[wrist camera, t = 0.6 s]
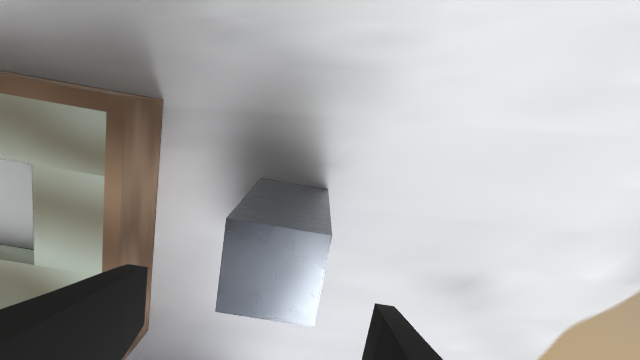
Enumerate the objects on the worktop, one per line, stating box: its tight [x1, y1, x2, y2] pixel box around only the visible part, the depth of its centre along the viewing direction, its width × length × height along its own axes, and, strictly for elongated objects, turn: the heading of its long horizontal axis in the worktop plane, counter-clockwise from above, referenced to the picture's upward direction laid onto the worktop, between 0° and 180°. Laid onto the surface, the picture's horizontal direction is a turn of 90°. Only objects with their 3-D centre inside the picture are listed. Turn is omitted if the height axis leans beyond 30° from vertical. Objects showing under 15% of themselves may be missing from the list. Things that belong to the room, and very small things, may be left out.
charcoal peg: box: [215, 178, 332, 327], centre depth 16 cm, size 4×4×7 cm
